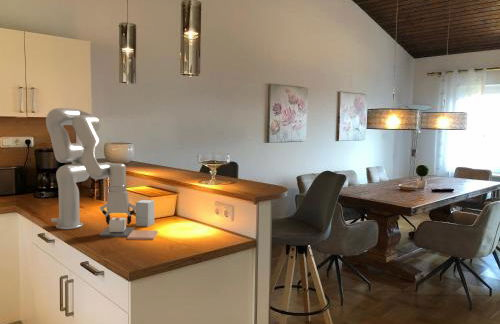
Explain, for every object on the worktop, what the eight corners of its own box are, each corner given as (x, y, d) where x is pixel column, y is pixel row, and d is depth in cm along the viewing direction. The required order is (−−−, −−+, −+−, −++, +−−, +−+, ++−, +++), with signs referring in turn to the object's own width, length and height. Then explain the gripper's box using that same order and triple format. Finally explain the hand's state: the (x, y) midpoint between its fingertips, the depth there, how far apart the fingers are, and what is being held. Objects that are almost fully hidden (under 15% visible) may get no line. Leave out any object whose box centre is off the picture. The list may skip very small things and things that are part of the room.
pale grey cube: (109, 231, 200) (109, 219, 199) (112, 228, 206) (112, 216, 206) (122, 232, 200) (122, 219, 200) (126, 228, 207) (126, 216, 206)
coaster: (127, 239, 193) (127, 237, 193) (132, 232, 205) (132, 230, 205) (153, 239, 194) (153, 237, 194) (157, 232, 206) (157, 230, 205)
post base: (98, 236, 196) (98, 226, 195) (107, 229, 210) (107, 219, 209) (129, 237, 197) (129, 226, 196) (135, 229, 211) (135, 219, 210)
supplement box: (154, 223, 223) (155, 200, 222) (147, 226, 216) (147, 202, 215) (142, 222, 225) (142, 199, 224) (135, 225, 218) (135, 201, 217)
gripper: (97, 190, 197) (98, 225, 198) (134, 190, 198) (135, 225, 200) (102, 187, 204) (102, 222, 206) (137, 187, 205) (138, 221, 207)
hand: (118, 223), depth 203 cm, fingers open, 9 cm apart
